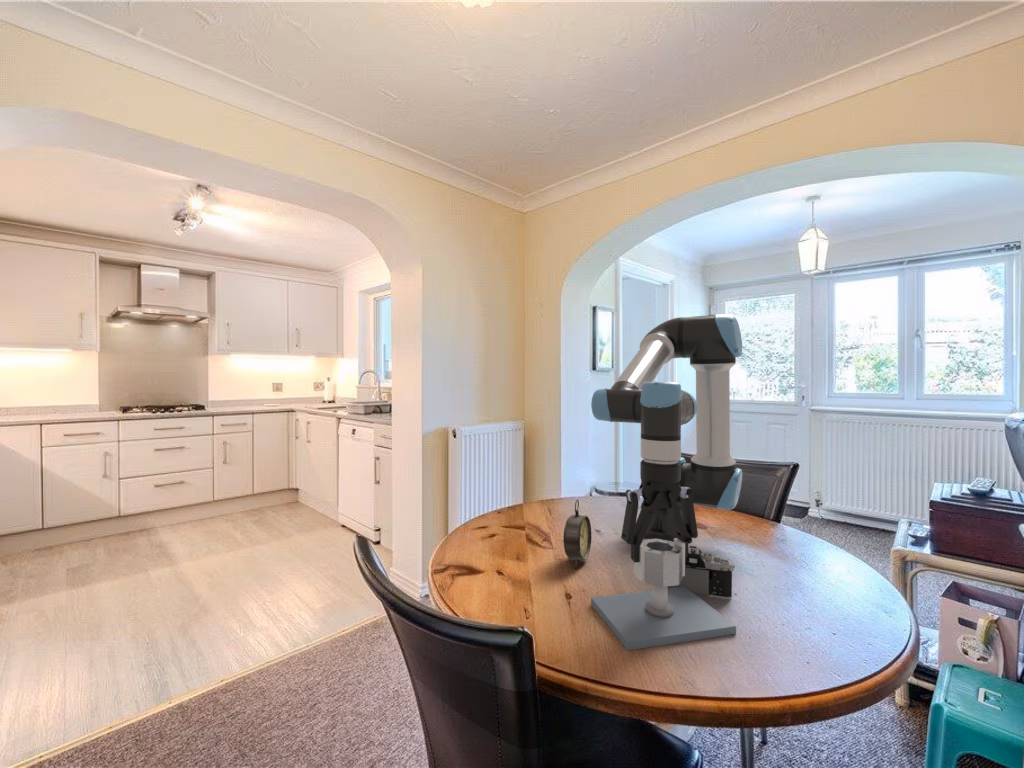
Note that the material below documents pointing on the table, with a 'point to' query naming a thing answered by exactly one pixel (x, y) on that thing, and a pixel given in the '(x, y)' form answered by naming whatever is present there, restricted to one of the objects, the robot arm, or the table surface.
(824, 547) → the table surface
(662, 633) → the shaft block
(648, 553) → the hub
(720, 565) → the camera
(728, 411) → the robot arm
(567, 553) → the alarm clock
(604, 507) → the table surface
